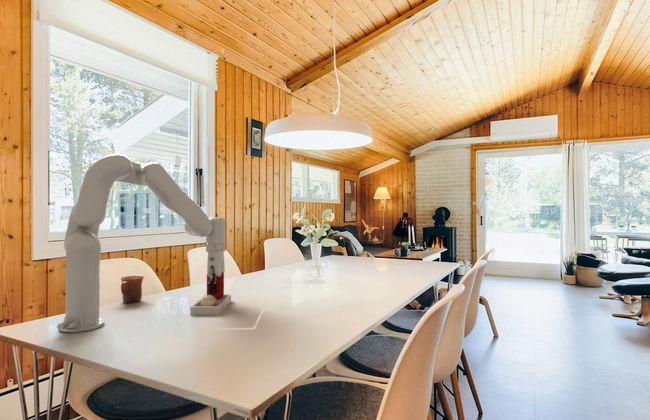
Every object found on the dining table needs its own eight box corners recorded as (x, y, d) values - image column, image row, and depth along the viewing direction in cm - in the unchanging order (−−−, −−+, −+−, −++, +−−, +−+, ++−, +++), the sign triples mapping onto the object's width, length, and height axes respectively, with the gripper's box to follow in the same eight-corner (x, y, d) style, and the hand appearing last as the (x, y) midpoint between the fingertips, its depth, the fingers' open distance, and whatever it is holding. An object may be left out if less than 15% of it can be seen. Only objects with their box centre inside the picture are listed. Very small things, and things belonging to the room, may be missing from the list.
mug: (127, 299, 164) (127, 275, 164) (147, 299, 163) (147, 275, 163) (111, 306, 152) (111, 280, 152) (132, 306, 151) (133, 280, 151)
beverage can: (226, 297, 156) (226, 268, 156) (220, 301, 149) (220, 271, 149) (210, 296, 157) (210, 268, 157) (203, 300, 150) (204, 270, 150)
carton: (219, 316, 138) (219, 306, 138) (190, 316, 138) (190, 307, 138) (231, 302, 158) (231, 294, 158) (205, 302, 158) (205, 294, 158)
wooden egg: (214, 313, 140) (214, 297, 140) (198, 313, 140) (198, 297, 140) (218, 308, 146) (218, 293, 146) (203, 308, 146) (203, 293, 146)
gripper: (219, 250, 144) (219, 296, 144) (229, 245, 162) (229, 287, 162) (200, 250, 144) (199, 296, 144) (211, 245, 161) (211, 287, 161)
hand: (215, 291), depth 153 cm, fingers closed on beverage can, 6 cm apart
